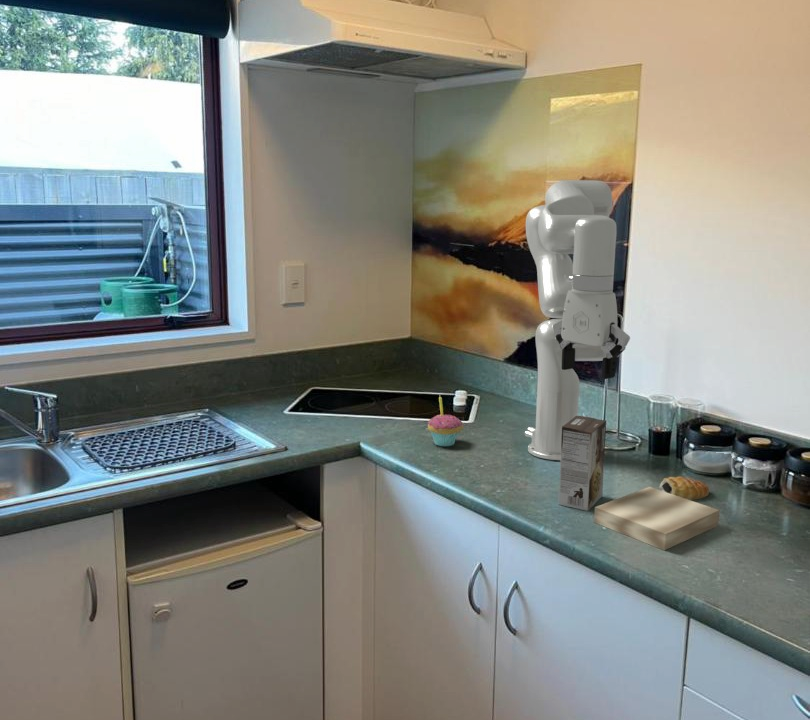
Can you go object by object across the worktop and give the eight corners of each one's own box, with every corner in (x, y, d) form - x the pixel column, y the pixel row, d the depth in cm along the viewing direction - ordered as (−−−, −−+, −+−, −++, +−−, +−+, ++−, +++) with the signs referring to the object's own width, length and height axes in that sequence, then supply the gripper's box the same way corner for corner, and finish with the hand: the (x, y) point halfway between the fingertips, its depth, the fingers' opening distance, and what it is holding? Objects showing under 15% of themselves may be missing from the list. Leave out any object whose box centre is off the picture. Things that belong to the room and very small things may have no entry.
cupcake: (420, 443, 194) (420, 395, 192) (443, 435, 200) (444, 389, 198) (446, 451, 188) (446, 402, 186) (469, 443, 194) (471, 395, 192)
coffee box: (572, 490, 164) (576, 414, 161) (603, 496, 161) (607, 419, 158) (556, 504, 157) (560, 425, 153) (588, 511, 153) (593, 431, 150)
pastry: (697, 487, 167) (698, 470, 166) (716, 500, 160) (717, 482, 159) (656, 491, 165) (657, 473, 164) (673, 503, 158) (675, 485, 157)
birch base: (593, 522, 148) (594, 507, 148) (648, 500, 159) (649, 486, 158) (664, 550, 137) (665, 534, 136) (718, 525, 147) (719, 510, 147)
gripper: (544, 281, 154) (540, 368, 158) (618, 290, 141) (612, 384, 144) (569, 279, 159) (565, 363, 162) (643, 287, 146) (637, 378, 149)
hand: (587, 373), depth 153 cm, fingers open, 9 cm apart
